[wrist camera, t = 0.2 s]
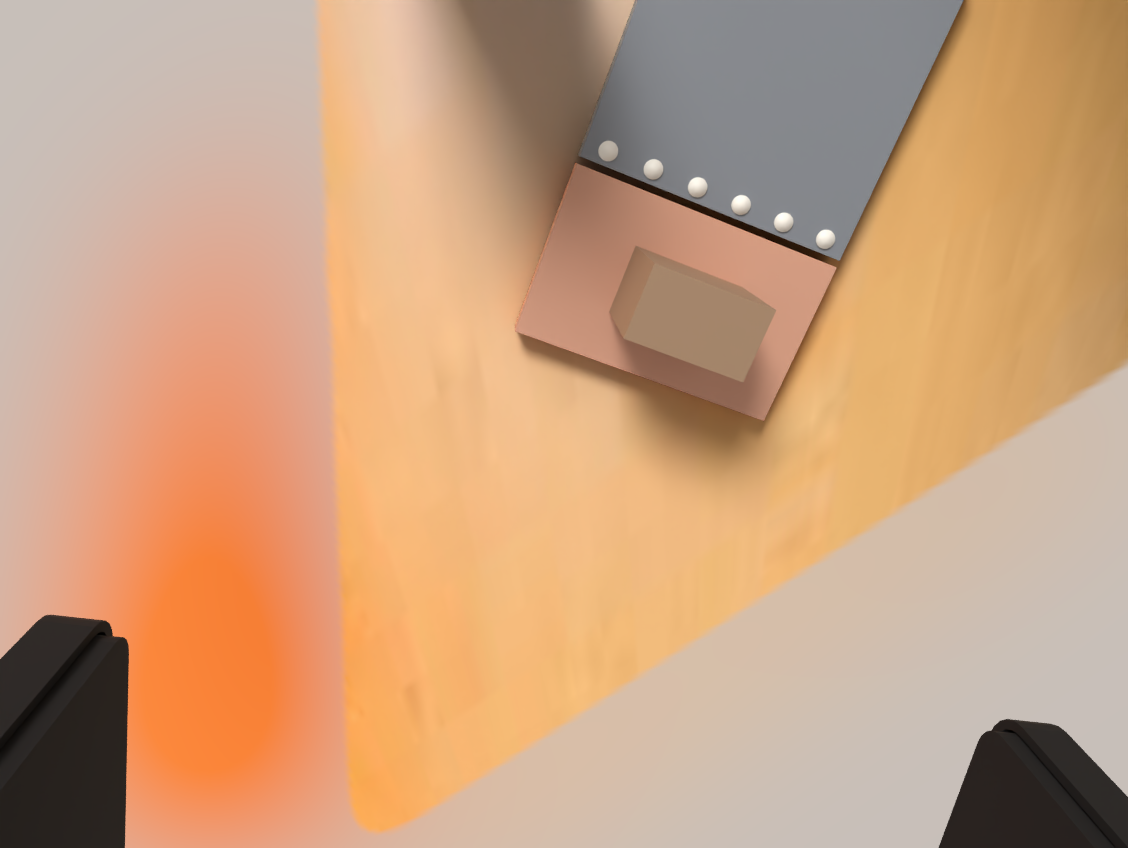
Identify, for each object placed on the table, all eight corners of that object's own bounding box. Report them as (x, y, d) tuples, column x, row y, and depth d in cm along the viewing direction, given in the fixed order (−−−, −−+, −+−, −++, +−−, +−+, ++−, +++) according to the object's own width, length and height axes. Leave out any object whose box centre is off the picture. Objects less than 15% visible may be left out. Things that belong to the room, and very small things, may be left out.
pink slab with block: (575, 162, 36) (587, 169, 30) (827, 263, 38) (884, 287, 32) (514, 325, 38) (515, 360, 32) (757, 413, 40) (798, 461, 34)
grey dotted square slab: (692, -155, 33) (699, -165, 31) (962, -25, 35) (979, -31, 33) (577, 155, 36) (580, 156, 35) (829, 256, 38) (840, 261, 37)
